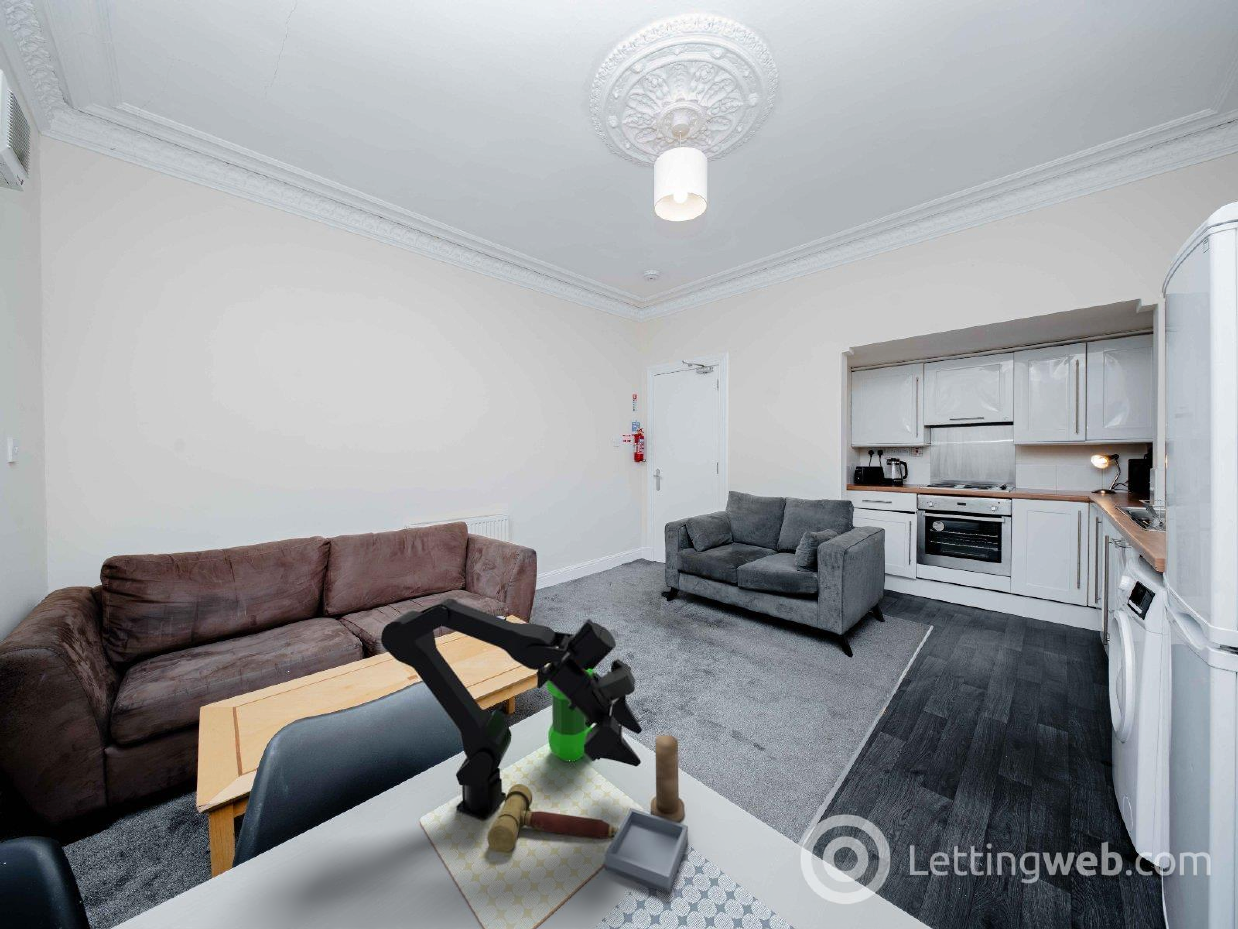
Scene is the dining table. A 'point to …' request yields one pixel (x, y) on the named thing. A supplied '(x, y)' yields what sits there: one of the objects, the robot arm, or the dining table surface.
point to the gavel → (538, 821)
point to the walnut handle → (667, 780)
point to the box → (647, 850)
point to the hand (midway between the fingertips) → (639, 747)
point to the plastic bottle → (566, 727)
